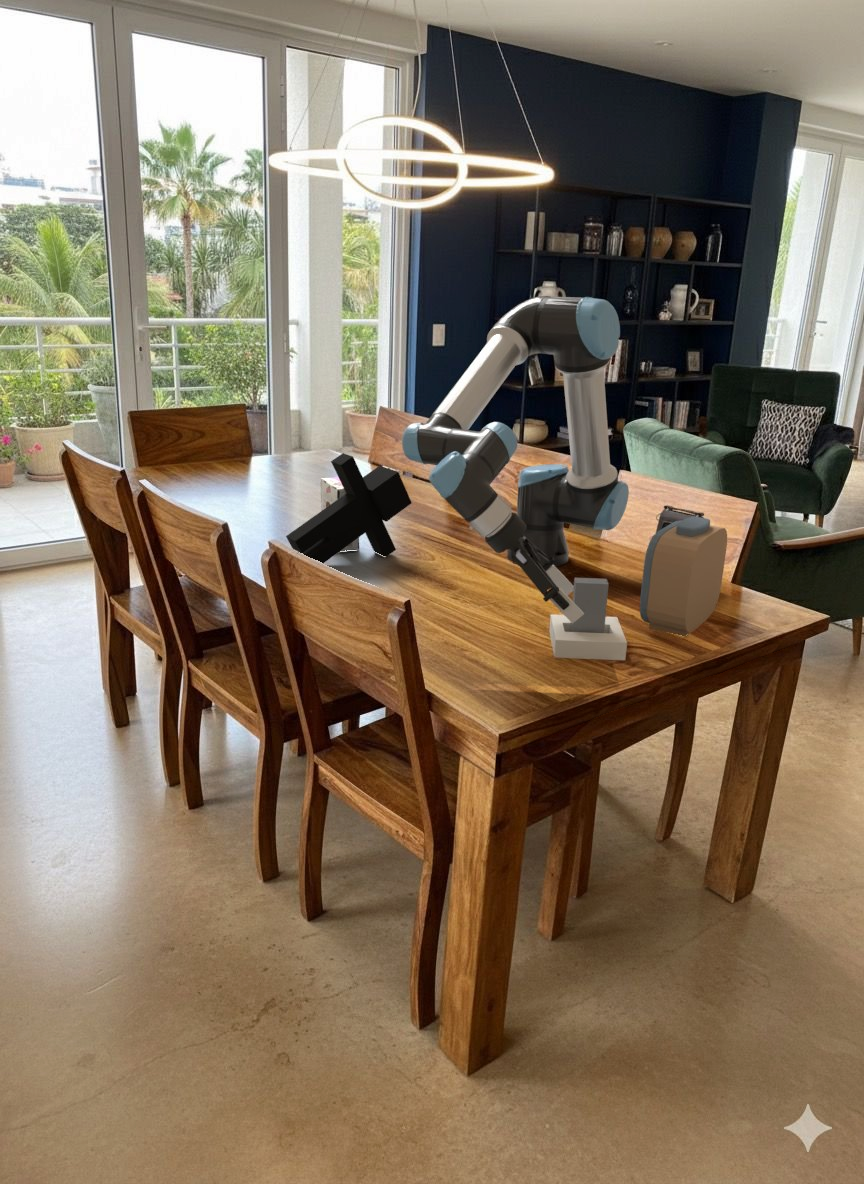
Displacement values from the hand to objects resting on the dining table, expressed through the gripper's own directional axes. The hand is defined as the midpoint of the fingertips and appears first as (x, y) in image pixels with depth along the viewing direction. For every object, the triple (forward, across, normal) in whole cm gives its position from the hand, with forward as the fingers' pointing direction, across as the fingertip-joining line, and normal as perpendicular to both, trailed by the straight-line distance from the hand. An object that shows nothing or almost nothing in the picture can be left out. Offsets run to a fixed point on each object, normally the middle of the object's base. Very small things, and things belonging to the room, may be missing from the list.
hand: (574, 605), depth 168 cm
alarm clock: (+22, -13, +10) cm, 28 cm away
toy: (-28, -47, -40) cm, 68 cm away
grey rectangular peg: (+8, 0, -4) cm, 9 cm away
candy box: (-31, -60, -43) cm, 80 cm away
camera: (+25, -34, +14) cm, 44 cm away
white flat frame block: (+8, 0, -4) cm, 9 cm away
